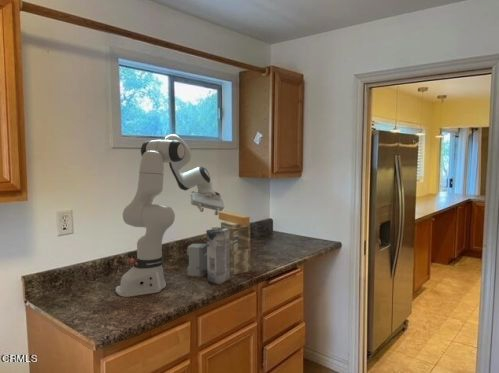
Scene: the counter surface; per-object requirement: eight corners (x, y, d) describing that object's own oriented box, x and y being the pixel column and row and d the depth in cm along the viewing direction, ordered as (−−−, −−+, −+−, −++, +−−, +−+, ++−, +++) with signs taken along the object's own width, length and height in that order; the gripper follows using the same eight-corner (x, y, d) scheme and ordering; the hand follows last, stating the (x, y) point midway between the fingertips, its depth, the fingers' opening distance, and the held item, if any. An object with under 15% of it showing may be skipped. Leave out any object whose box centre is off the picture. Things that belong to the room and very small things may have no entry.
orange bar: (243, 225, 190) (243, 217, 190) (218, 219, 209) (218, 212, 209) (249, 224, 192) (249, 216, 192) (224, 218, 212) (224, 211, 211)
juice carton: (232, 279, 187) (231, 225, 185) (219, 285, 178) (218, 229, 176) (217, 276, 191) (217, 224, 189) (204, 282, 183) (204, 227, 180)
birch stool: (231, 275, 194) (231, 225, 192) (221, 270, 202) (220, 222, 200) (250, 270, 201) (250, 222, 199) (240, 266, 209) (239, 219, 207)
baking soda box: (231, 254, 234) (231, 229, 233) (224, 252, 238) (224, 227, 237) (242, 251, 241) (242, 226, 239) (235, 250, 245) (235, 225, 244)
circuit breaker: (214, 277, 190) (213, 248, 189) (187, 275, 193) (187, 246, 192) (218, 272, 198) (218, 244, 196) (192, 271, 201) (192, 243, 199)
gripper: (192, 187, 214) (195, 205, 205) (223, 195, 224) (227, 212, 215) (187, 194, 217) (190, 212, 208) (218, 201, 228) (222, 219, 219)
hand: (209, 212), depth 212 cm, fingers open, 8 cm apart
